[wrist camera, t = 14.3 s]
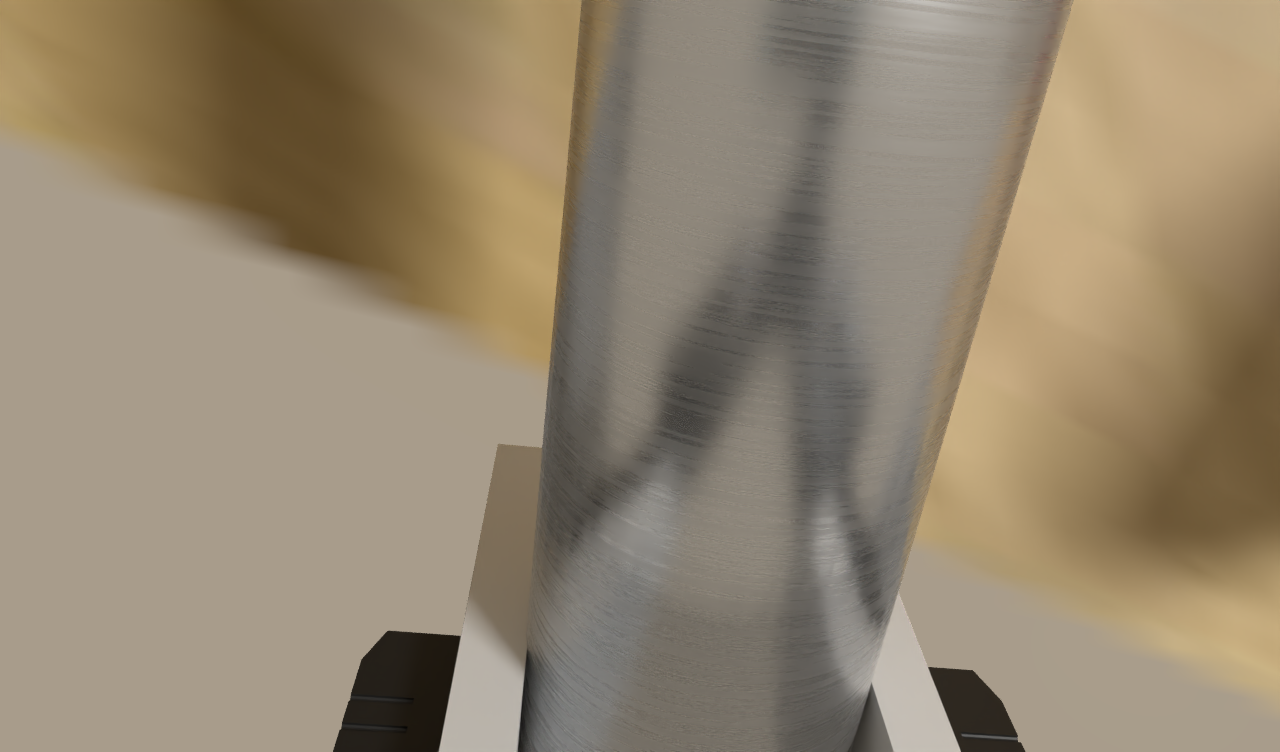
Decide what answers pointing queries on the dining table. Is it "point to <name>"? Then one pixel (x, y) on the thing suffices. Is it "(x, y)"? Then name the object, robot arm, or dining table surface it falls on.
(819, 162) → the axle
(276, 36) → the dining table surface
